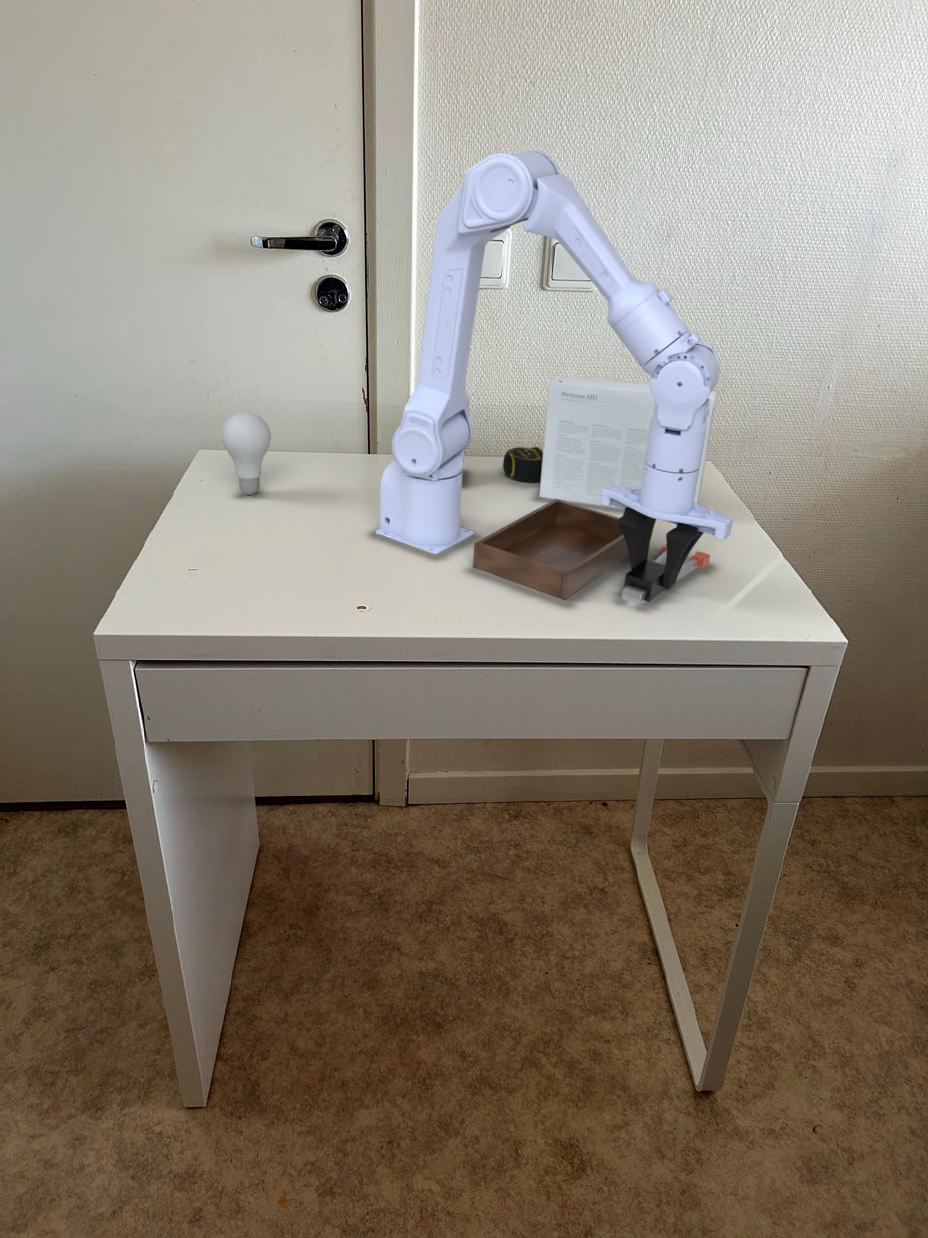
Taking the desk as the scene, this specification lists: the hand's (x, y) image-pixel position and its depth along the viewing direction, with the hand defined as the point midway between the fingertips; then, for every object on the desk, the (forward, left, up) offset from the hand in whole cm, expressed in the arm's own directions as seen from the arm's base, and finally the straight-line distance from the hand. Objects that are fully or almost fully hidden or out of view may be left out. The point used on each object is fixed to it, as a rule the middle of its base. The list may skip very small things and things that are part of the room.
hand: (653, 579), depth 107 cm
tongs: (0, +2, -1) cm, 2 cm away
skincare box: (-15, +20, -1) cm, 25 cm away
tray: (-12, -1, -1) cm, 12 cm away
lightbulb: (-53, -11, -1) cm, 54 cm away
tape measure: (-29, +20, -1) cm, 35 cm away
